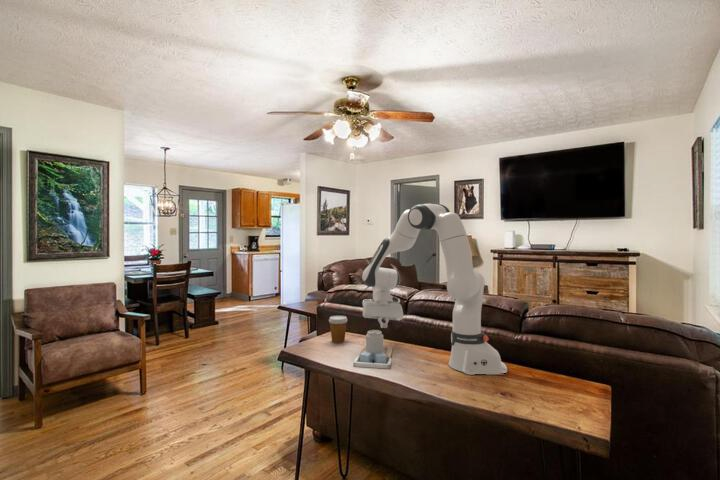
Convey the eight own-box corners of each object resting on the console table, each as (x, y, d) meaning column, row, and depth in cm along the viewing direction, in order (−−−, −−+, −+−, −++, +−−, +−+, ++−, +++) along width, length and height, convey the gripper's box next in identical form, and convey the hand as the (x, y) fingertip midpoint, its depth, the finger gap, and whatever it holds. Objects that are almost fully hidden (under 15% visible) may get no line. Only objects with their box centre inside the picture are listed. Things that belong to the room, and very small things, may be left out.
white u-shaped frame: (391, 361, 152) (391, 358, 152) (389, 368, 144) (389, 364, 144) (357, 359, 155) (357, 356, 155) (353, 366, 147) (353, 362, 147)
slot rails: (393, 349, 168) (393, 346, 168) (389, 361, 152) (389, 357, 152) (365, 348, 170) (365, 344, 170) (359, 359, 155) (359, 356, 154)
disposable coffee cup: (347, 344, 177) (347, 319, 176) (327, 344, 177) (327, 319, 177) (348, 338, 186) (348, 315, 186) (329, 338, 186) (329, 315, 186)
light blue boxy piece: (383, 361, 153) (383, 352, 152) (386, 365, 149) (386, 355, 149) (374, 362, 152) (374, 353, 152) (377, 365, 148) (377, 356, 148)
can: (363, 360, 153) (363, 332, 153) (369, 355, 160) (369, 328, 160) (380, 362, 151) (380, 334, 151) (385, 357, 158) (385, 329, 158)
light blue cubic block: (372, 362, 152) (372, 352, 152) (368, 365, 148) (368, 355, 148) (364, 360, 154) (364, 351, 154) (359, 363, 150) (359, 354, 150)
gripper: (364, 296, 174) (365, 324, 167) (402, 299, 180) (406, 326, 172) (360, 301, 179) (361, 328, 172) (398, 304, 185) (400, 330, 177)
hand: (384, 327), depth 172 cm, fingers closed
